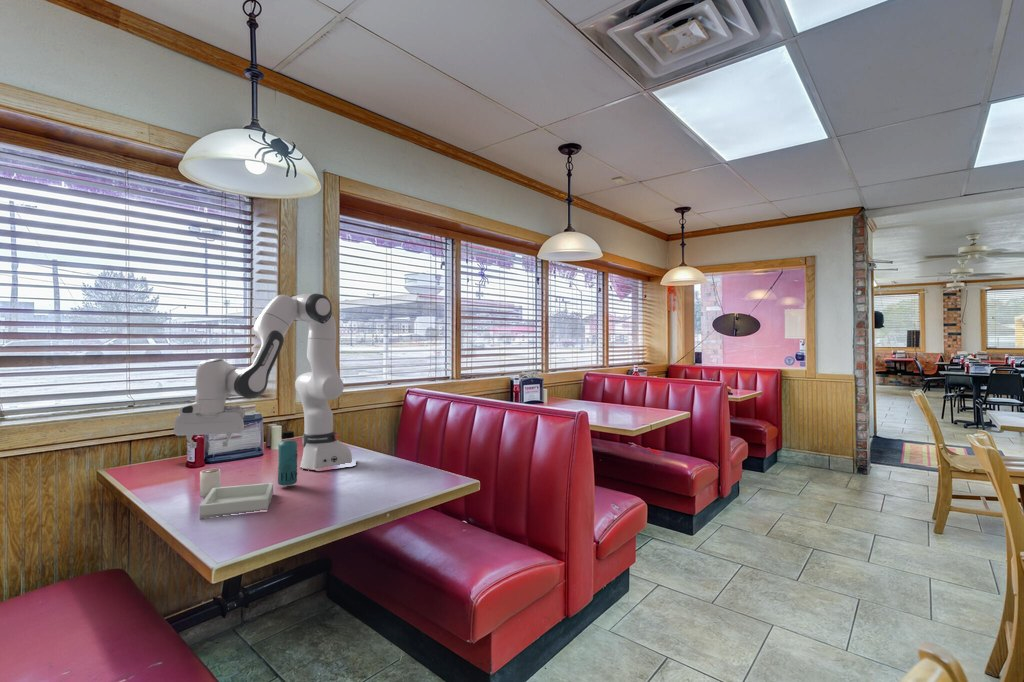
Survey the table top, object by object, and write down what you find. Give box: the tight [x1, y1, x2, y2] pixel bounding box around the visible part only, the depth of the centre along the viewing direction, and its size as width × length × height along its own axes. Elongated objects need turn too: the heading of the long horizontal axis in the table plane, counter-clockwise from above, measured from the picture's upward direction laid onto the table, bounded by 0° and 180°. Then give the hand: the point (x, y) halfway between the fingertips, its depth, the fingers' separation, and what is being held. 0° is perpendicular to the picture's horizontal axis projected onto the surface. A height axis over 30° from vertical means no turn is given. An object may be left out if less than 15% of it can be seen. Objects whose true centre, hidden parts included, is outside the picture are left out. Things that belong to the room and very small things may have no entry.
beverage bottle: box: [277, 430, 299, 487], centre depth 175 cm, size 6×7×20 cm
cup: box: [199, 468, 222, 498], centre depth 166 cm, size 6×6×8 cm
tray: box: [199, 482, 274, 520], centre depth 156 cm, size 18×18×4 cm
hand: (209, 447), depth 166 cm, fingers open, 8 cm apart
